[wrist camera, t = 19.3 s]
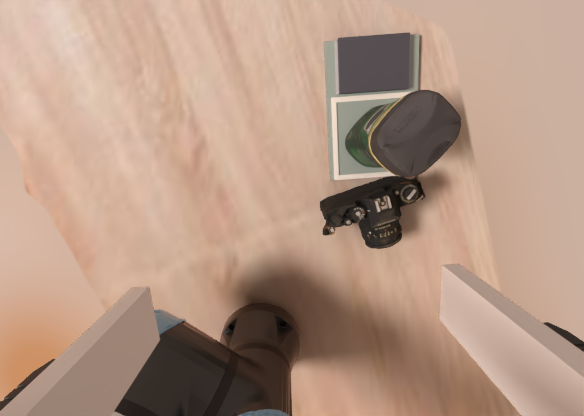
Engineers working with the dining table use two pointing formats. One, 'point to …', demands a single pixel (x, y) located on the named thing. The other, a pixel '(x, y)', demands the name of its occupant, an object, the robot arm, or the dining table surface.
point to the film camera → (373, 209)
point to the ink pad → (372, 63)
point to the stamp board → (356, 114)
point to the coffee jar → (405, 133)
